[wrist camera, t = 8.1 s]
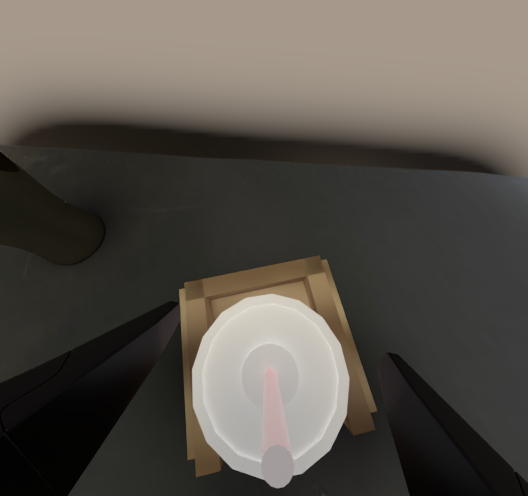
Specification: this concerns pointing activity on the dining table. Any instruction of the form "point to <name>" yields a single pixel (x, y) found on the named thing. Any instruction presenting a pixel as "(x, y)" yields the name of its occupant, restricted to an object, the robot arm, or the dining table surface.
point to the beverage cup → (270, 387)
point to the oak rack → (256, 284)
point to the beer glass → (43, 219)
